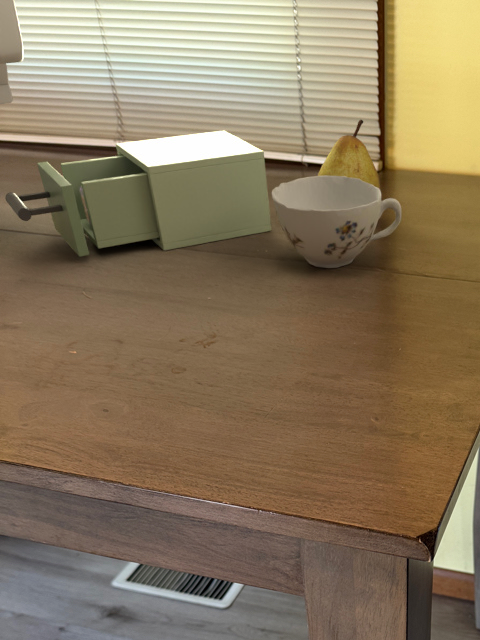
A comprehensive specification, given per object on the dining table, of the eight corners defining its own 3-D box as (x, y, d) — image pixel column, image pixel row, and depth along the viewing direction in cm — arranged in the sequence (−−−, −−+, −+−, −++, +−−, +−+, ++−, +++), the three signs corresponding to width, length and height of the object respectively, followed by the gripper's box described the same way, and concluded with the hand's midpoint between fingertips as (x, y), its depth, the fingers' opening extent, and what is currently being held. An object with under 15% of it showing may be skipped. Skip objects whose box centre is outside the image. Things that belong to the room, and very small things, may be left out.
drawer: (35, 264, 87) (14, 193, 82) (14, 235, 94) (-7, 168, 89) (188, 236, 95) (177, 169, 90) (158, 212, 102) (146, 148, 97)
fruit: (317, 232, 99) (310, 131, 91) (316, 210, 106) (310, 114, 98) (382, 231, 100) (382, 130, 92) (377, 210, 107) (377, 114, 99)
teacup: (280, 282, 86) (273, 209, 81) (276, 244, 96) (269, 176, 90) (409, 275, 88) (410, 204, 83) (393, 239, 98) (393, 172, 92)
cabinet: (164, 250, 93) (147, 167, 87) (132, 222, 101) (115, 143, 95) (271, 230, 99) (263, 151, 93) (233, 205, 107) (224, 130, 101)
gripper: (-96, -66, 78) (-45, 88, 87) (-68, -58, 65) (-11, 122, 74) (-30, -67, 80) (13, 82, 89) (10, -59, 67) (55, 115, 76)
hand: (2, 101), depth 81 cm, fingers closed
